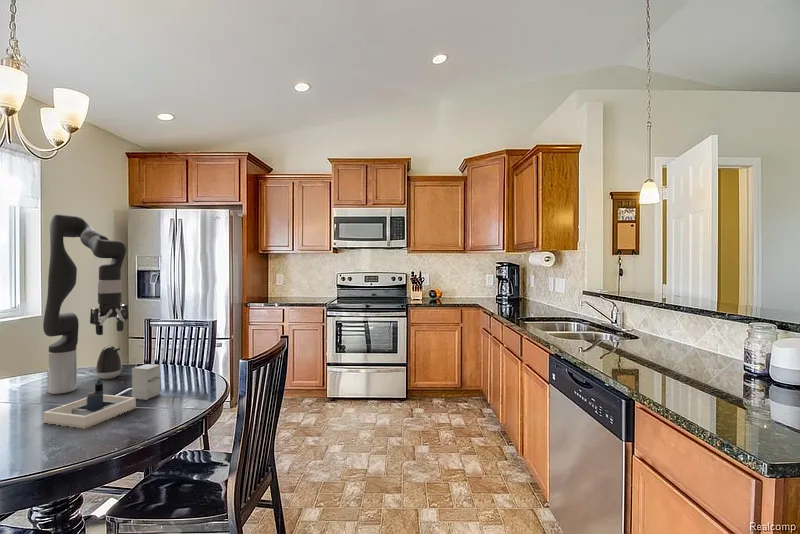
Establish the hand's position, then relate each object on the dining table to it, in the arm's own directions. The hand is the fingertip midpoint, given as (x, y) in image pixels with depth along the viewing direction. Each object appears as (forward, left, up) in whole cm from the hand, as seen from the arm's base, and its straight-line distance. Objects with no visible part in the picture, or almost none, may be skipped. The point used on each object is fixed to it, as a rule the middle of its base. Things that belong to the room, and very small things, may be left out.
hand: (110, 332), depth 161 cm
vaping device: (+6, -11, -27) cm, 30 cm away
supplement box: (+6, +11, -28) cm, 31 cm away
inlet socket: (+6, -11, -28) cm, 31 cm away
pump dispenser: (-33, +29, -28) cm, 52 cm away
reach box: (+4, -11, -28) cm, 30 cm away
